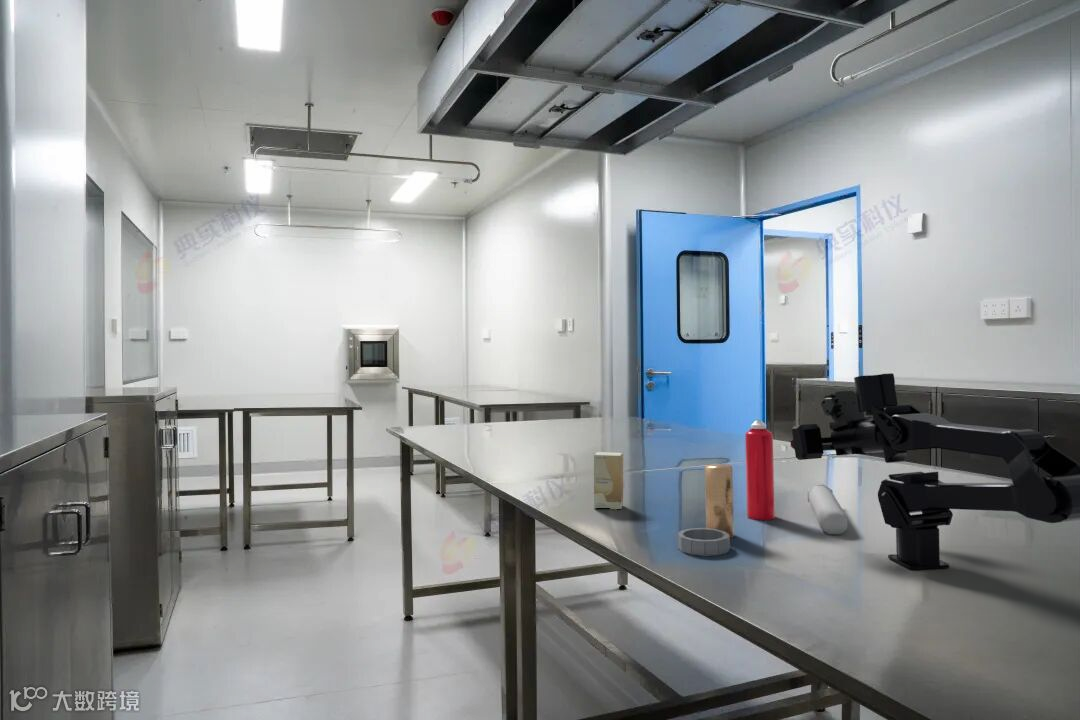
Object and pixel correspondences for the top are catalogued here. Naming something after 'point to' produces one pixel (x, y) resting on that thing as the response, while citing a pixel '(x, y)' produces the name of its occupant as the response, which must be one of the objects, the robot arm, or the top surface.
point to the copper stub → (719, 498)
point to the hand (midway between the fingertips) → (811, 442)
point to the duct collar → (704, 541)
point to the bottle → (759, 472)
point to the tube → (827, 509)
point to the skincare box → (608, 480)
